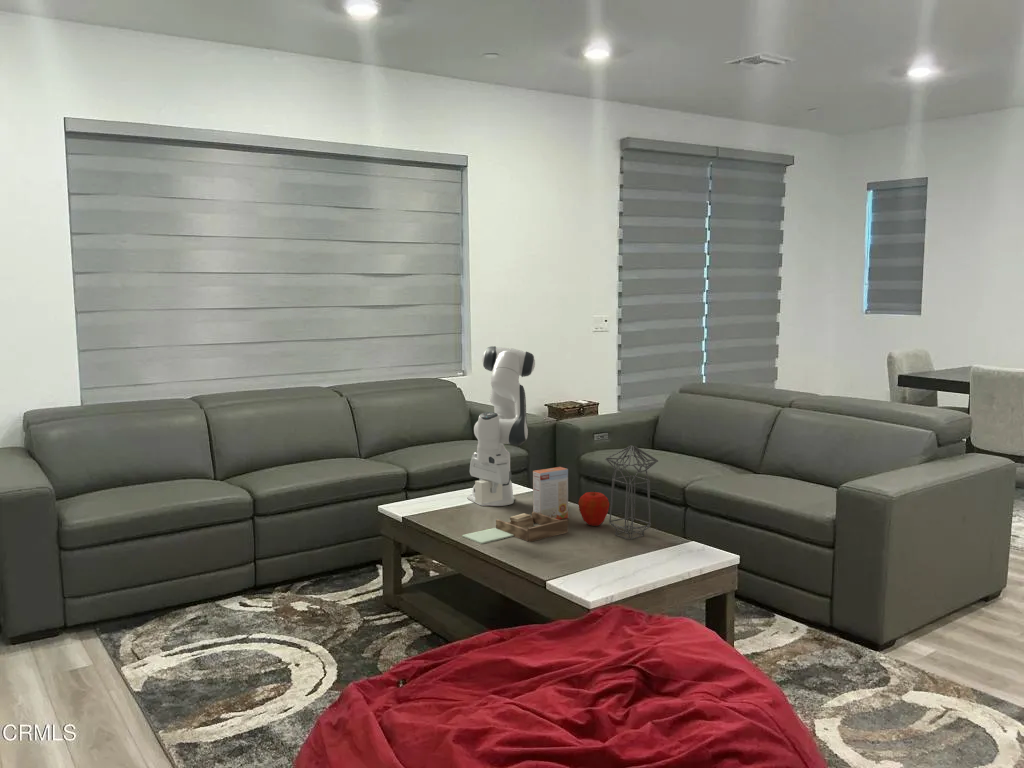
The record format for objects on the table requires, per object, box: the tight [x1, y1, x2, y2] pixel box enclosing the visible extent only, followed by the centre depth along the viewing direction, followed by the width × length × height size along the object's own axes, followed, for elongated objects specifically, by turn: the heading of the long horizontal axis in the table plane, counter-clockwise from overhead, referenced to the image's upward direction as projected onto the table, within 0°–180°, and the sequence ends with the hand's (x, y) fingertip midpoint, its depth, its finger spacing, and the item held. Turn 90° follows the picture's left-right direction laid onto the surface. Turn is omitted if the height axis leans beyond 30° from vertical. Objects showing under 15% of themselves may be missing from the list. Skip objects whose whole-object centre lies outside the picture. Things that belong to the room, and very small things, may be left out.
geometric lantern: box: [605, 445, 659, 540], centre depth 329 cm, size 16×16×35 cm
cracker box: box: [532, 466, 569, 520], centre depth 352 cm, size 14×6×21 cm, turn 122°
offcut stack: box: [509, 512, 535, 529], centre depth 341 cm, size 4×10×5 cm, turn 136°
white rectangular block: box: [474, 479, 502, 504], centre depth 327 cm, size 4×10×8 cm, turn 130°
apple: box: [577, 490, 611, 527], centre depth 344 cm, size 12×12×14 cm
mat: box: [461, 527, 514, 545], centre depth 329 cm, size 12×16×1 cm
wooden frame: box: [495, 511, 569, 543], centre depth 336 cm, size 20×20×5 cm
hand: (488, 491), depth 327 cm, fingers closed on white rectangular block, 4 cm apart
